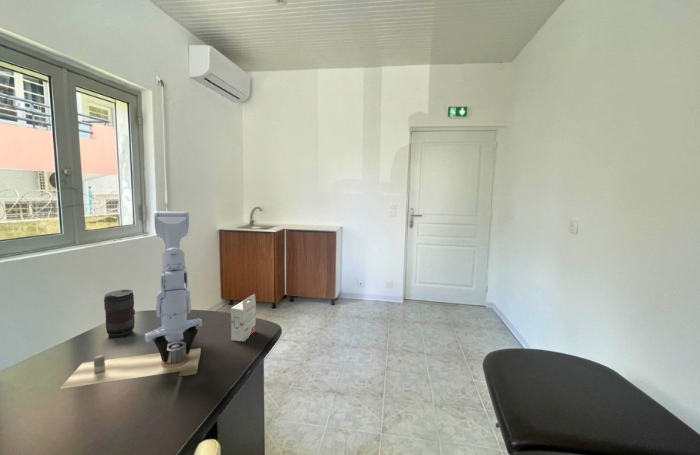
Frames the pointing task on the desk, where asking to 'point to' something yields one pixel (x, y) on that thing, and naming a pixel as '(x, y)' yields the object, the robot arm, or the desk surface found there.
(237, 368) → the desk surface
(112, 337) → the camera lens
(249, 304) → the ink cartridge box
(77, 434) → the desk surface
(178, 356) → the collar
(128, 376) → the stand board
